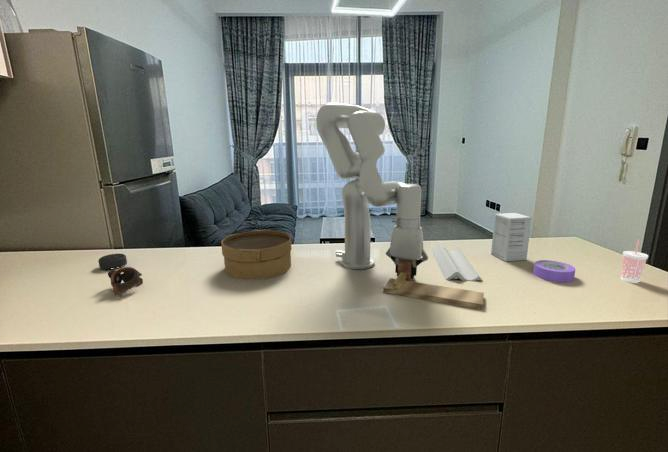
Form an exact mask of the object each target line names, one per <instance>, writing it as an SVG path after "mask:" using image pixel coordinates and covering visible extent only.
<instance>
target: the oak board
mask: <svg viewBox="0 0 668 452" xmlns="http://www.w3.org/2000/svg"><path fill="white" fill-rule="evenodd" d="M396 279H397V278H392V277H391V278H390V277H389V279H388V280H387V282H386V284H384V285H383V289H382V292H383V293H387V294H391V295H392V294H393V295H399V296H404V297H409V298H416V299H420V300H427V301H432V302H438V303H442V304H443V303H444V304H448V305H454V306H462V307H466V308H473V309H478V310H483V309H484V296H485V295H484V294H485V293H484V292H481V291H477V290H476V291H474V290H468V289H464V288H463V289H462V288H457V287H456V288H455V287H449V286H445V285H444V286H443V285H437V284H430V283H424V282H419V281H418V282H417V281H412V280H411V281H406V280H405V281H404V283H403V284H402V286H401V288H400V289H396V288H393V283H394V281H395V280H396Z"/></svg>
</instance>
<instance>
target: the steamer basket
mask: <svg viewBox="0 0 668 452" xmlns="http://www.w3.org/2000/svg"><path fill="white" fill-rule="evenodd" d="M292 249H293V248H292V236H291V235H290V234H288V233H286V232H283V231H278V230H253V231H252V230H251V231H244V232H239V233H235V234H231V235H229V236H227V237H225V238H223V239H222V240H221V255H222V257H223V262H224V271H225V274H226V275H227V276H228V277H230V278H233V279H238V280H247V281H248V280H251V279H252V281H253V280H264V279H268V278H269V277H270V278H273V276H274V277H277V276H279V275H282V274H284V273H286V272H288V271H289V270H290V268H291V267H292V255H291V254H292V253H291V251H292ZM287 270H288V271H287ZM263 278H264V279H263Z"/></svg>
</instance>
